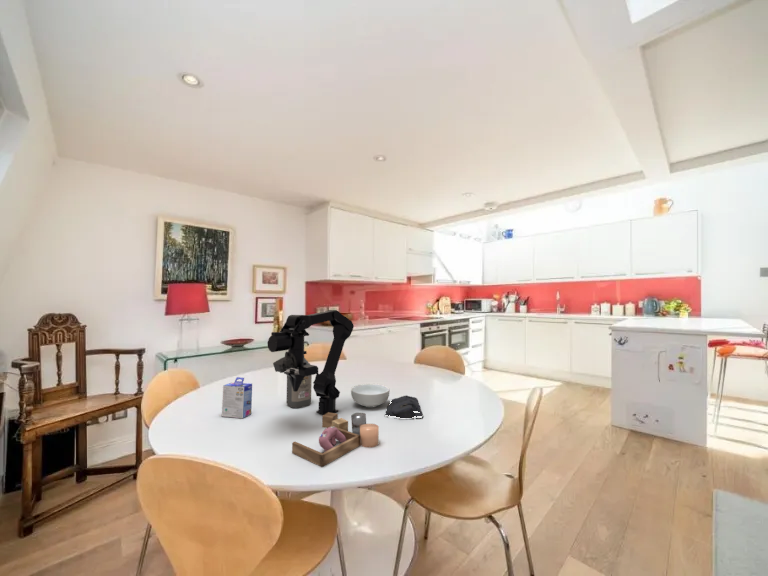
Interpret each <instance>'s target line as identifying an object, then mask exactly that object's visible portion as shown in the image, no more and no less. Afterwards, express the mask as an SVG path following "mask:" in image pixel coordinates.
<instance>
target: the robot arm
mask: <svg viewBox="0 0 768 576" xmlns="http://www.w3.org/2000/svg"><path fill="white" fill-rule="evenodd" d="M324 322H329V324H330V326H332V335H333V340H332V343H331V346H330V349H329V352H328V354H327V358H326V360H325V364H324V367H323V370H322V371H321V372H320V373H319V367H318V366H317V365H315V364H310V365H306V362H304V358H305V355H307V353H308V352H307V350H305V337H308V336H310V333H309V332H307V329H309V328H310V327H312V326H313V325H316V324H320V323H321V324H322V323H324ZM353 331H354V323H353V321H352V320H351V319H349V318H348V317H346V316H345V315H343V314H341V312H340V311H339V310H338V309H329V310H326V311H319V312H316V313H311V314H291V315H288V316H287V318H286V321H285V322H284V324H283V326H282V327H281V329H280V330H279V332H278V331H272V332H271V335H270V336H269V338H268V340H267V344H266V345H267V348H268V351H270V352H271V353H275V352H282V351H283V352H284V351H285V353H284V356H283V357H281V358H279V359H277V360H276V361H274V362H272V365H273V369H274V371H275V373H276V372H277V373H280V374H284V375H286V377H287V376H288V377H289V378H290V381H291V384H292V387H293V391H294V392H296V391H298V389H299V387H300V385H301V383H302V381H303V379H304V377H305V376H310V375H312V376H314V375H315V378H314V380H313V382H312V384H313V386H312V389H313V390H314V392H315V396H316V397H319V398H318V399H319V400H318V409H317V410H316V413H317V414H320V415H322V416H323V415H325V414H326V413H328V412H330V413H337V412H339V409H337V407H336V405H337V404H336V402H337V401H336V400H337V399H338V398H339V397H340V393H341V391H340V390H338V388H337V387H336V383H337V379H336V375H335V374H336V371H337V368H338V364H339V361H340V358H341V355H342V352H343V348H344V346H345V342H346V341H347V339H349V338H350V337H351V335H352V332H353ZM304 365H306V366H304Z"/></svg>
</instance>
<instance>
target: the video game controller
mask: <svg viewBox="0 0 768 576" xmlns="http://www.w3.org/2000/svg"><path fill="white" fill-rule="evenodd" d="M337 441H338V442H339V443H343V442H345V441H346V437H345V436H344V435H343V434H342V433H341V432H340V431H339V430H338V429H337V428H336V427H335V426H333V427H328V428H325V429H324V430H322V432H321V434H320V436H319V437H318V444H319V446H320V447H321V448H322V449H323V450H324V452H326V451H328V450H329V449H331V448H333V447H335V446H336V444H337Z"/></svg>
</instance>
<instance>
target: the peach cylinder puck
mask: <svg viewBox="0 0 768 576" xmlns="http://www.w3.org/2000/svg"><path fill="white" fill-rule="evenodd" d="M379 427H380V426H379V425H377V424H375V423H366V424H363V425H361V426H360V435H361V443H360V446H361V447H363V448H375V447H377V446H378V445H379V444H378V443H379V437H380V436H379V433H380V431H379V430H380V429H379Z"/></svg>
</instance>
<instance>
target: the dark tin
mask: <svg viewBox="0 0 768 576" xmlns="http://www.w3.org/2000/svg"><path fill="white" fill-rule="evenodd" d="M350 418H351V432H352V433H355V434H358V435H360V426H361V425H363V424H367V415H366V413H364V412H355V413H354V412H353V414H351V417H350Z"/></svg>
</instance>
